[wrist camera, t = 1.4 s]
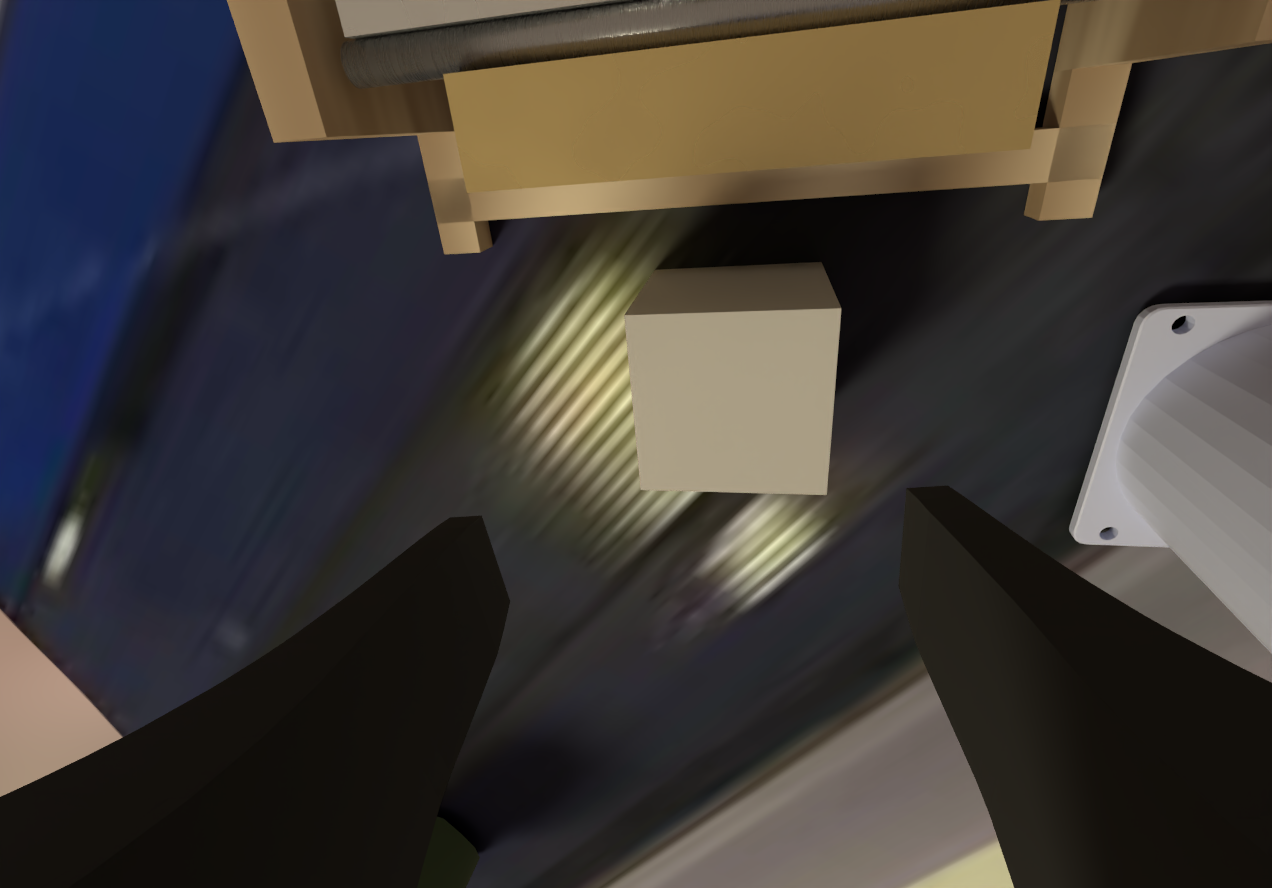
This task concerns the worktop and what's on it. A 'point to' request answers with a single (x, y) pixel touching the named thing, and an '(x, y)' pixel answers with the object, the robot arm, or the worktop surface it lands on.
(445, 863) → the character mug
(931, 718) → the worktop surface
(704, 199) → the frame
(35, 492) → the worktop surface
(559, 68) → the trapdoor
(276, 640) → the worktop surface
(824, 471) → the stone block
